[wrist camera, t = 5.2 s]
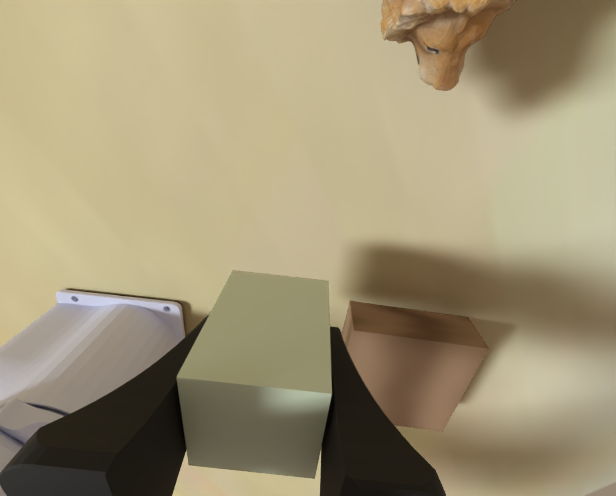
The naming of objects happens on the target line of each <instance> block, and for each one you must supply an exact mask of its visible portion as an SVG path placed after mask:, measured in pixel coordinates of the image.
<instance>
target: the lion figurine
mask: <svg viewBox="0 0 616 496" xmlns="http://www.w3.org/2000/svg"><path fill="white" fill-rule="evenodd" d="M515 1H517V0H383V3H382V21H381V30H382V34H383V39H384V40H386V39H387V40H389V41H397V42H398V43H404V42H407V41H411V42H412V43H413V45H414V47H415V51H416V55H417V60H418V64H419V76H420V79H421V80H422V81H423V82H425V83H427V84H429V85H432V86H433V87H434V88H435V89H436V90H442V91H448V90H451V89H452V88H454V87H455V86H456V84H457V83H458V81H459V76H460V74H461V72H462V69H463V66H464V57H465V53H466V51H467V49H468V48H469V47H470V46H471V45H472V44H474V43H475V42H476V41H478V40H480V39H481V38H482V37H483V36H484V35H485V34H486V32H487V30H488V28H489V26H490V24H491V22H492V20H493V18H494V17H495V16H497V15H498V14H500V13H501V12H503V11H505V10H508V9H509V8H510V7H511V5H512V4H513V3H514V2H515Z"/></svg>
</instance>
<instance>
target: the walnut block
mask: <svg viewBox="0 0 616 496" xmlns="http://www.w3.org/2000/svg"><path fill="white" fill-rule="evenodd" d="M342 337H343V340H344V343H345V345H346V348H347V350H348V352H349V354H350V357H351V359H352V361H353V363H354V365H355V367H356V369H357V371H358V373H359V374H360V376H361V378H362V380H363V381H364V383H365V385H366V387H367V388H368V390H369V391H370V393H371V395H372V396H373V398H374V399H375V401H376V402H377V404H378V405H379V406H380V408H381V409H382V411H383V412H384V413H385V415H386V416H387V417H388V418H389V420H390V421H391V422H392V423H393V425H397V426H405V427H413V428H420V429H428V430H436V431H443V430H444V428H445V426H446V425H447V423H448V421H449V419H450V417H451V416H452V414H453V412H454V410H455V408H456V407H457V405H458V403H459V401H460V400H461V398H462V396H463V394H464V392H465V391H466V389H467V387H468V385H469V383H470V382H471V380H472V378H473V376H474V375H475V373H476V371H477V369H478V367H479V366H480V364H481V362H482V360H483V359H484V357H485V355H486V353H487V351H488V350H489V348H488V347H487V345H486V344H485V342H484V341H483V339H482V337H481V336H480V334H479V333H478V331H477V330H476V328H475V327H474V325H473V324H472V322H471V321H470V319H469V318H468V317H462V316H455V315H448V314H441V313H433V312H426V311H419V310H412V309H405V308H397V307H390V306H383V305H376V304H369V303H361V302H354V301H350V303H349V307H348V311H347V315H346V319H345V323H344V327H343V331H342Z"/></svg>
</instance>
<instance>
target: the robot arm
mask: <svg viewBox="0 0 616 496" xmlns="http://www.w3.org/2000/svg"><path fill="white" fill-rule="evenodd" d="M55 296H56V299H57V302H58V303H57V304H56V305H55V306H53V307H52V308H51V309H49V310H48V311H47V312H45V313H44V314H43V315H42V316H40V317H39V318H38V319H36V320H35V321H34V322H32V323H31V324H30V325H29V326H27V327H26V328H25V329H23V330H22V331H21V332H19V333H18V334H17V335H16V336H14V337H13V338H12V339H10V340H9V341H8V342H6V343H5V344H4V345H2V346H1V347H0V496H172V494H173V491H174V487H175V484H176V481H177V477H178V474H179V471H180V468H181V465H182V462H183V459H184V455H185V452H186V442H185V435H184V428H183V421H182V413H181V406H180V399H179V392H178V385H177V378H176V377H177V375H178V373H179V371H180V369H181V367H182V366H183V364H184V362H185V360H186V358H187V356H188V354H189V352H190V350H191V349H192V347H193V345H194V343H195V341H196V339H197V337H198V335H199V333H200V332H201V330H202V328H203V326H204V324H205V322H206V320H207V318H208V316H209V315H210V314H209V315H208V316H207V317H206V318H205V319H204V320H203V321H202V322H201V323H200V324H199V325H198V326H197V327H196V328H195V329H193V330H192V331H191V332H190V333H189V334H188V335H187V336H186V337H185V330H184V321H183V312H182V306H181V305H180V304H179V303H177V302H172V301H163V300H154V299H145V298H136V297H127V296H118V295H109V294H100V293H91V292H82V291H73V290H64V289H63V290H59V291H58V292H57V293H56V294H55ZM166 306H167V307H169V308H170V309H169V308H167V307H166ZM330 347H331V380H332V396H331V401H330V406H329V411H328V416H327V421H326V426H325V430H324V435H323V440H322V445H321V481H320V496H446V494H445V491H444V489H443V487H442V484H441V482H440V479H439V477H438V475H437V473H436V470H435V469H434V468H433V467H432V466H431V465H430V464H429V463H428V462H427V461H426V460H425V459H424V458H423V457H422V456H421V455H420V454H419V453H418V452H417V451H416V450H415V449H414V448H413V447H412V446H411V445H410V444H409V442H408V441H407V440H406V439H405V438H404V437H403V436H402V435H401V433H400V432H399V431H398V430H397V428H396V427H395V426H394V425H393V423H392V422H391V421H390V420H389V418H388V417H387V416H386V415H385V413H384V412H383V411H382V409H381V408H380V406H379V405H378V404H377V402H376V401H375V399H374V398H373V396H372V395H371V393H370V391H369V390H368V388H367V387H366V385H365V383H364V381H363V380H362V378H361V376H360V374H359V373H358V371H357V369H356V367H355V365H354V363H353V361H352V359H351V357H350V354H349V352H348V350H347V348H346V345H345V343H344V340H343V337H342V335H341V331H340V329H339V328H338V327H330Z"/></svg>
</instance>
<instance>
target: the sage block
mask: <svg viewBox="0 0 616 496" xmlns="http://www.w3.org/2000/svg"><path fill="white" fill-rule="evenodd" d="M176 378H177V385H178V392H179V399H180V406H181V413H182V421H183V428H184V435H185V442H186V449H187V456H188V463H189V465H192V466H201V467H211V468H220V469H229V470H239V471H248V472H257V473H267V474H276V475H286V476H295V477H304V478H314V479H315V475H316V470H317V465H318V460H319V455H320V450H321V445H322V440H323V435H324V430H325V426H326V421H327V416H328V411H329V406H330V401H331V396H332V380H331V347H330V314H329V281H326V280H317V279H308V278H299V277H289V276H280V275H271V274H262V273H253V272H244V271H235V270H233V271H232V273H231V275H230V277H229V279H228V281H227V282H226V284H225V286H224V288H223V290H222V292H221V294H220V296H219V298H218V299H217V301H216V303H215V305H214V307H213V309H212V311H211V313H210V315H209V316H208V318H207V320H206V322H205V324H204V326H203V328H202V330H201V332H200V333H199V335H198V337H197V339H196V341H195V343H194V345H193V347H192V349H191V350H190V352H189V354H188V356H187V358H186V360H185V362H184V364H183V366H182V367H181V369H180V371H179V373H178V375H177V377H176Z"/></svg>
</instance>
